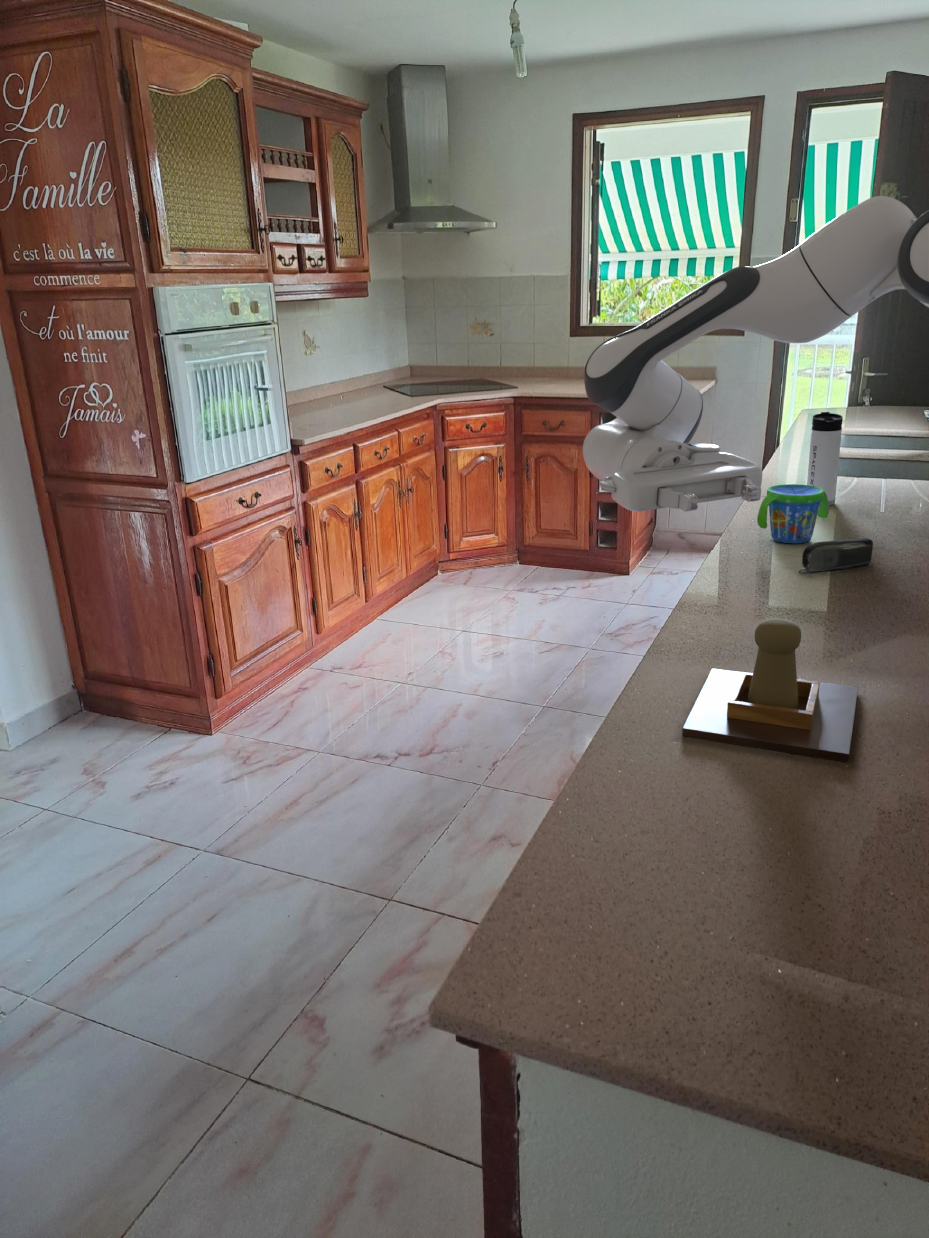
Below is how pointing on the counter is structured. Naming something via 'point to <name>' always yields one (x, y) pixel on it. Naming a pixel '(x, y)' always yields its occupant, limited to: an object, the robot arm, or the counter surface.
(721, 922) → the counter surface
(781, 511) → the snack cup
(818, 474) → the travel mug
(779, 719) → the pad
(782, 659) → the cork
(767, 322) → the robot arm
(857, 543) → the dark grey stapler
